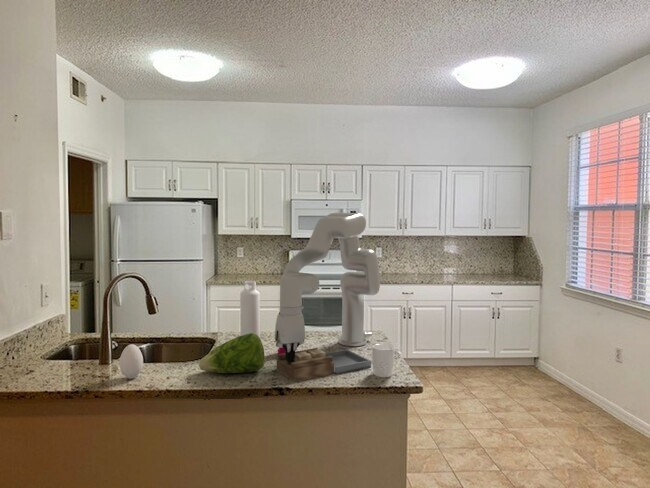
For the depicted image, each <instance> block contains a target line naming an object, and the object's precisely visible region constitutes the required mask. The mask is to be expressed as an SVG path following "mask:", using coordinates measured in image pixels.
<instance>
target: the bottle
mask: <svg viewBox="0 0 650 488" xmlns="http://www.w3.org/2000/svg"><path fill="white" fill-rule="evenodd" d="M256 285H257V283H256V281H255V280H246V281H244V285H243V287H244V290H242V291H241V292H240V294H239V295H240V298H239V299H240V301H239V303H240V304H239V305H240V311H239V313H240V315H239V316H240V317H239V318H240V330H239V331H240V332H239V333H240V335H239V336H242V335H245V334H250V333H254V334H257V335H258V337H259V338H260V337H261V336H260V335H261V333H260V332H261V330H260V328H261V327H260V326H261V325H260V324H261V322H260V319H261V317H260V316H261V315H260V311H261V310H260V307H261V306H260V305H261V302H260V301H261V298H260V297H261V293H260V292H259V291H258V290H257V289H256V288H257V286H256ZM260 339H261V338H260Z"/></svg>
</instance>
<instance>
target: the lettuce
mask: <svg viewBox="0 0 650 488" xmlns="http://www.w3.org/2000/svg"><path fill="white" fill-rule="evenodd" d="M265 359H266V358H265V349H264V345H263V342H262V340H261V338H259V337H258V335H257V334H254V333H250V334H245V335H242V336H240V335H239V336H236V337H235V338H232V339H230V340H228V341H226V342H224V343H222V344H220V345H218V346H217V347H215V348H213V350H211V351H210V352H209V353H208V354H206V355H205V356H204V357H202V358H201V359H200V360H199V361H198V367H199V369H200V370H201V371H204V372H211V373H218V374H244V373H245V374H246V373H251V372H257V371H260V370H261V369H262V368H263V367H264V365H265Z"/></svg>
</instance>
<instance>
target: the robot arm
mask: <svg viewBox="0 0 650 488" xmlns="http://www.w3.org/2000/svg"><path fill="white" fill-rule="evenodd" d="M366 227H367V219H366V217H365V215H363V214H362V213H359V212H331V213H328V214H327V215H326V216H323V217H320V218H319V219H318V220H317V223H316V224H315V227H314V228H313V231H312V233H311V236H310V238H309V240H308V242H307V244H306V246H305V247H304V248H302V249H301V250H300V251H299V252H297V253H296V254H295V255H294V256H292V257H291V258H290V260H289V261H287V264H286V266H285V268H284V270H283V273H282V275H281V277H280V278H279V280H280V281H279V312H280V314H279V313H278V314H277V315H276V321H275V328H274V329H275V330H274V341H275V342H276V343H275V346H276V347H277V348H278V349H279V348H283V349H284V350H285V351H286V361H287V362H289V363H292V362H294V359H295V352H296V351H298V347H299V346H301V345H304V344H305V338H306V328H305V327H306V326H305V319H304V318H305V317H304V315H303V312H302V311H304V310H305V305H302V295H311V294H314V293H316V292H317V291H318V289H319V287H320V279H319V278H318V276H317V275H315V274H313V273H311V272H310V273H308V272H300V271H301V270H302V269H303V268H305V267H306V266H308V265H311V264H313V263H316V262H318V261H320V260H323V259H325V258H327V256H328V254H329V251H330V249H331V246H332V244H333V242H334V239H338V243H339V252H340V260H341V265H342V268H344V269H345V270H349V271H346V272H344V273H343V274H342V275H341V277H340V280H339V281H340V289H341V298H342V299H341V300H342V301H341V302H342V306H341V307H342V312H341V315H342V316H341V337H340V338H338V341H337V342H338V343H339V345H343V346H347V347H361V346H365V345H367V343H368V342H367V341H368V340H367V339H366V338H369V337H372V336H373V332H372V331H371V332H367V331H364V327H365V326H364V322H365V320H364V317H365V316H364V315H365V313H364V312H365V304H364V300H363V298H362V296H375V295H377V294H378V293H379V291H380V287H381V279H380V278H381V277H380V268H379V258H378V255H377V252H375V251H374V250H373V249H368V248H361V245H360V239H359V235H361V234H362V233H363V232H364V231H365V229H366ZM361 295H362V296H361ZM290 343H291V345H290Z"/></svg>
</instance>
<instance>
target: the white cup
mask: <svg viewBox="0 0 650 488" xmlns="http://www.w3.org/2000/svg"><path fill="white" fill-rule="evenodd" d="M395 349H396V348H395V346H394V345H392V344H390V343H389V344H388V343H375V344H373V345H371V351H372V355H371V356H372V357H371V358H372V368H373V369H372V372H373V375H374V376H375V377H377V378H378V377H379V378H389V377H392V376H393V371H394V370H393V368H394V361H395Z"/></svg>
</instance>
